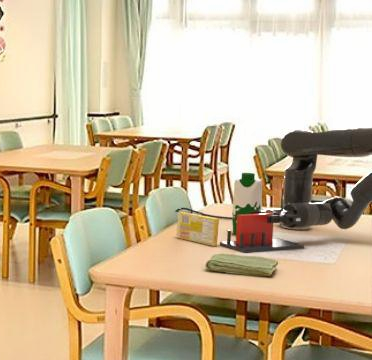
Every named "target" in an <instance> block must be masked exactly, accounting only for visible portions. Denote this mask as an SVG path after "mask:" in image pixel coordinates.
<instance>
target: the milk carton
mask: <svg viewBox="0 0 372 360" xmlns="http://www.w3.org/2000/svg"><path fill="white" fill-rule="evenodd" d="M255 177H256V173H254V172H241V177H236V178H235V179H234V185H233V196H232V197H233V198H232V216H231V217H232V219H231V221H232V235H233V236H236V229H237V215H241V214H249V212H250V211H256V209H262V201H263V182H262V180H263V179H262V178H255Z"/></svg>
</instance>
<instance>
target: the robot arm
mask: <svg viewBox="0 0 372 360" xmlns="http://www.w3.org/2000/svg"><path fill="white" fill-rule="evenodd" d="M280 148H281V150H282V152H283V153H284V154H285V155H286V156H288V157H290V158H292V161H291V163H290V164H289V165H288V166H287V167H286V168H285V169H284V180H283V197H282V198H281V199H280V208H272V207H270V208H261V209H256V211H250V212H249V214H260V213H271V214H274V215H273V216H268V217H267V223H273V224H279V227H281V228H283V229H288V230H294V231H295V230H296V231H307V230H310V229H311V227H317V226H327V225H328V224H330V223H331V222H332V221H333V222H334V224H335V225H336V226H337V228H338V229H341V230H349V229H350V228H353V227H354V226H355V225H356V224H357V223H358V221H359V220H360V218H361V217H362V215H363V214H364V212H365V211H366V209H368V206H369V205H370V204H371V203H372V171H370V172H368V173H367V174H365V176H363V177H362V178H361V179H360V180H359V181H358V182H357V183H356V184H355V185H353V186H352V188H351V189H350V192H349V193H350V197H351V199H352V202H351V204H350V203H349V201H348V200H347V199H346V198H344V197H343V196H334V197H331V198H329V199H326V200H324V201H322V202H312V197H313V195H312V194H313V179H314V173H315V172H316V169H317V164H318V163H317V161H318V156H328V157H336V158H337V157H339V158H365V157H369V156H372V127H350V128H347V127H346V128H339V129H338V128H337V129H332V130H325V131H319V132H313V131H311V130H309V129H293V130H290V131H288V132H287V133H285V134H284V135H283V136H282V138H281V140H280ZM180 208H181V209H179V208H177V209H176V210H175V212H177V213H178V212H180V211H181V210H182V211H183V210H185V211H189V212H192V213H193V214H198V215H201V216H206V217H211V218H216V219H223V220H232V216H221V215H213V214H208V213H204V212H202V211H199V210H194V209H191V208H188V207H180Z"/></svg>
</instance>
